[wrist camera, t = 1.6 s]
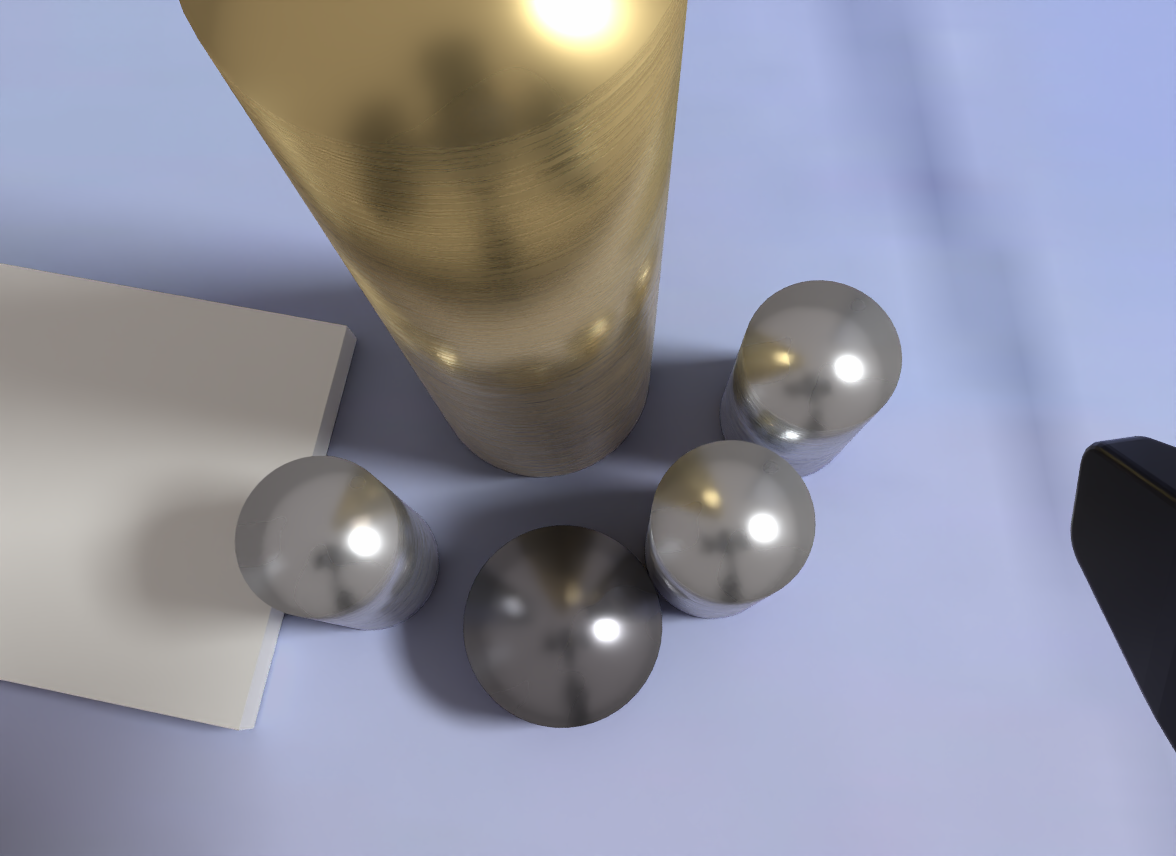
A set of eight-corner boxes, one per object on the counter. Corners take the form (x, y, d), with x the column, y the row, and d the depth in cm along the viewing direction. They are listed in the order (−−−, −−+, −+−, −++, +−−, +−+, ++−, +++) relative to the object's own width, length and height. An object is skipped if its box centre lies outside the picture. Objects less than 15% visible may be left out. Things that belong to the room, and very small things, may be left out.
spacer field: (798, 774, 19) (845, 798, 15) (280, 667, 20) (197, 663, 16) (856, 367, 21) (911, 294, 17) (381, 283, 22) (329, 195, 18)
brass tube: (628, 495, 20) (643, 187, 8) (415, 455, 21) (98, 96, 8) (666, 293, 21) (736, -271, 9) (463, 257, 22) (249, -333, 9)
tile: (253, 728, 19) (239, 730, 19) (-134, 646, 20) (-165, 644, 19) (357, 338, 21) (347, 325, 21) (-1, 274, 22) (-24, 258, 21)
